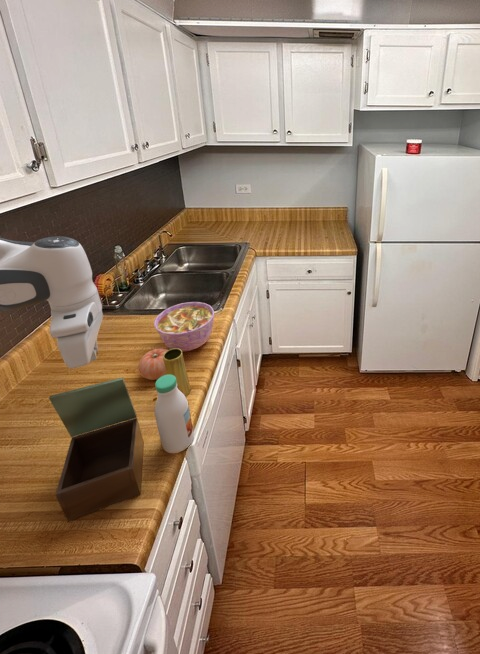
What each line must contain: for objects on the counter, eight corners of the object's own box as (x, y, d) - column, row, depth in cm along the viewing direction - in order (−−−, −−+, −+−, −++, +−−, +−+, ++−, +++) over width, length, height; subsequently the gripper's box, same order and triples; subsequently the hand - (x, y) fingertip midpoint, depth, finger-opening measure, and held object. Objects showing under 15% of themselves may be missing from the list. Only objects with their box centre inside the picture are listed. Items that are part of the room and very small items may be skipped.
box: (140, 494, 73) (132, 468, 70) (67, 522, 68) (55, 495, 65) (144, 442, 85) (137, 417, 82) (81, 462, 80) (71, 437, 77)
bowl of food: (189, 322, 134) (184, 297, 129) (228, 335, 126) (225, 309, 122) (147, 352, 117) (140, 324, 113) (190, 369, 109) (184, 340, 105)
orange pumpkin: (139, 389, 101) (133, 369, 98) (142, 366, 110) (137, 347, 107) (177, 380, 105) (173, 360, 102) (177, 358, 114) (173, 339, 111)
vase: (180, 381, 104) (173, 344, 99) (195, 388, 102) (188, 350, 96) (164, 395, 99) (156, 357, 94) (179, 402, 97) (171, 364, 91)
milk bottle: (184, 457, 81) (171, 395, 74) (155, 451, 83) (140, 391, 75) (199, 429, 88) (189, 371, 81) (173, 425, 90) (160, 367, 82)
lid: (122, 379, 74) (123, 377, 74) (48, 398, 69) (49, 395, 69) (136, 417, 81) (136, 415, 82) (71, 437, 76) (71, 434, 77)
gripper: (71, 288, 81) (86, 334, 86) (46, 336, 64) (67, 391, 69) (101, 283, 83) (114, 329, 89) (84, 328, 66) (102, 382, 71)
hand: (93, 356), depth 79 cm, fingers closed
